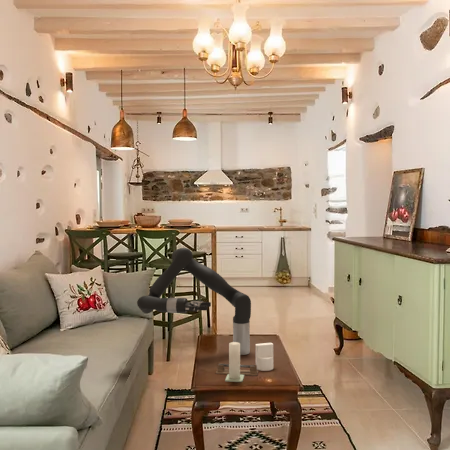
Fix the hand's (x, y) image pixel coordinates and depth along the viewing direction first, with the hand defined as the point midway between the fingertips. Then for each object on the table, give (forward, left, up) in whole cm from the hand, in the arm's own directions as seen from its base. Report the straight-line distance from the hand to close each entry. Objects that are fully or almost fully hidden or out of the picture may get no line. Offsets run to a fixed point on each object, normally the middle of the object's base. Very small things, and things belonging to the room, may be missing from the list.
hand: (209, 306), depth 228 cm
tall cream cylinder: (+10, +14, -31) cm, 36 cm away
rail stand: (+2, +14, -32) cm, 35 cm away
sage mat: (+10, +14, -32) cm, 36 cm away
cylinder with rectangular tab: (-7, +27, -32) cm, 42 cm away
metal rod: (+2, +14, -29) cm, 32 cm away
